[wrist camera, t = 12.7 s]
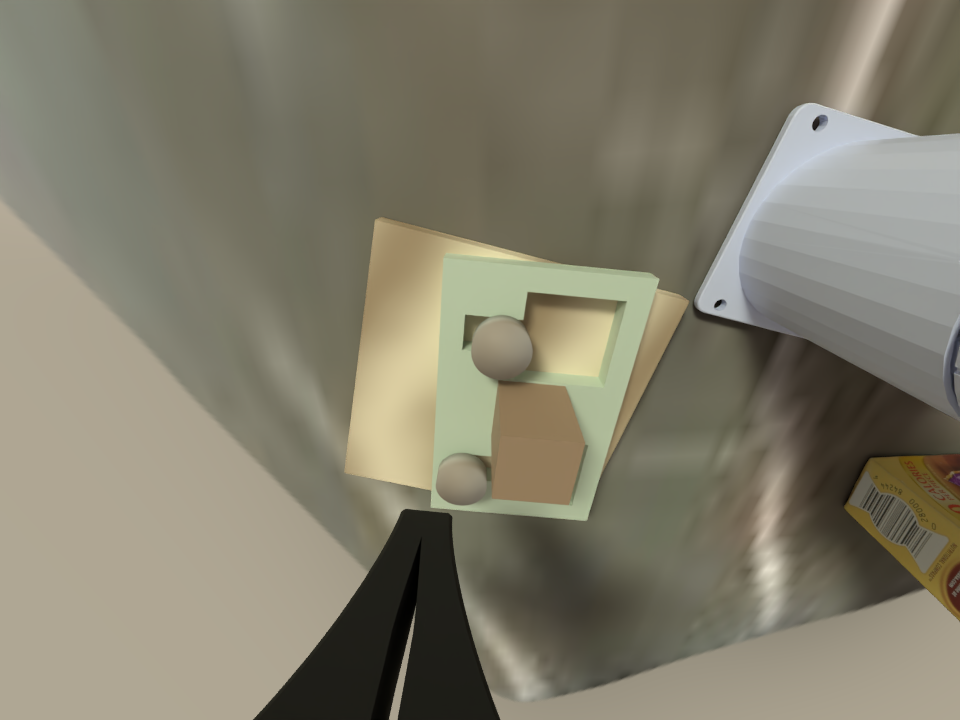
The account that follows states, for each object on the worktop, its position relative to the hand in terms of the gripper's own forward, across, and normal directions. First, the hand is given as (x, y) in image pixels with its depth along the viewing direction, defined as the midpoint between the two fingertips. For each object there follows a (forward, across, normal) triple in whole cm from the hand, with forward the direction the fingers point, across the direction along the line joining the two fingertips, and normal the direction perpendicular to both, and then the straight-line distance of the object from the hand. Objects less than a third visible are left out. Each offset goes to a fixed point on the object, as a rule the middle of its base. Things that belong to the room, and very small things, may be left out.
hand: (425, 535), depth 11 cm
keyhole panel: (+8, -4, 0) cm, 9 cm away
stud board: (+9, -2, 0) cm, 10 cm away
